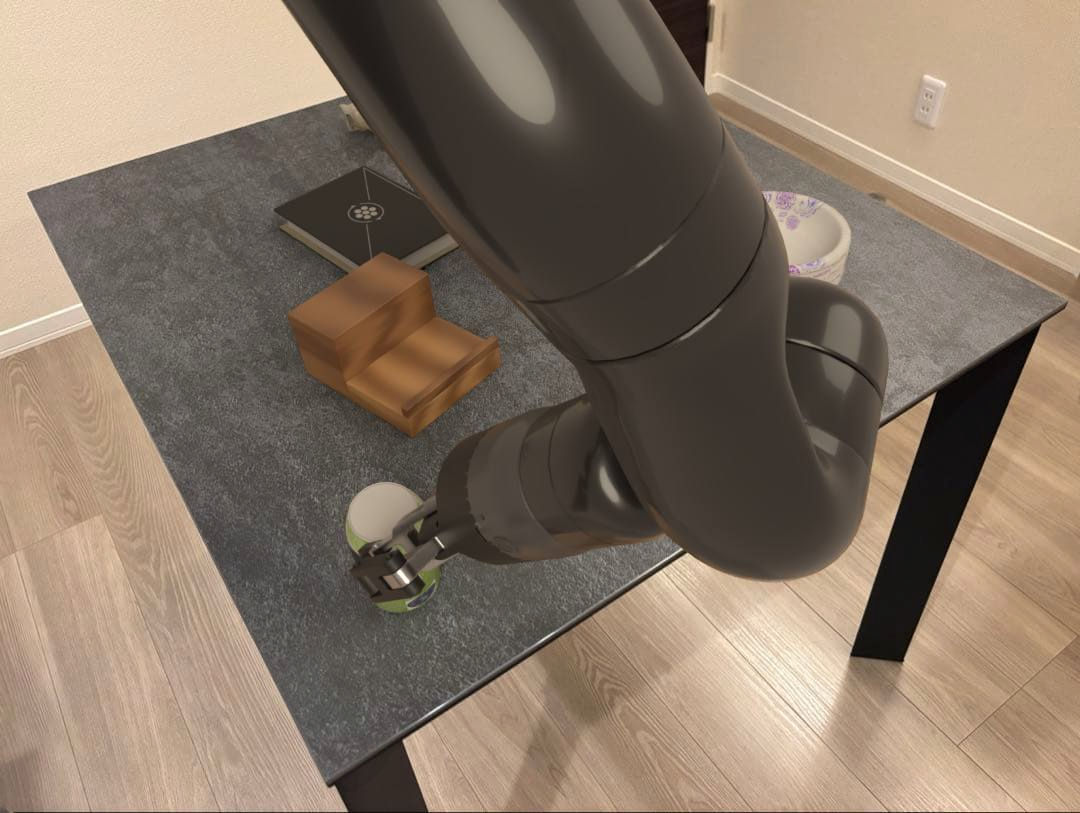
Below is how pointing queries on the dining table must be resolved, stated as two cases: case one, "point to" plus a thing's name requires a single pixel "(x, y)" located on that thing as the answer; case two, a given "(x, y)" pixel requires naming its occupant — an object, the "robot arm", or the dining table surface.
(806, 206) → the paper bowls
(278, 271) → the dining table surface
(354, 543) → the beverage can
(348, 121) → the decorative object
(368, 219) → the book
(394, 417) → the wooden step stand
